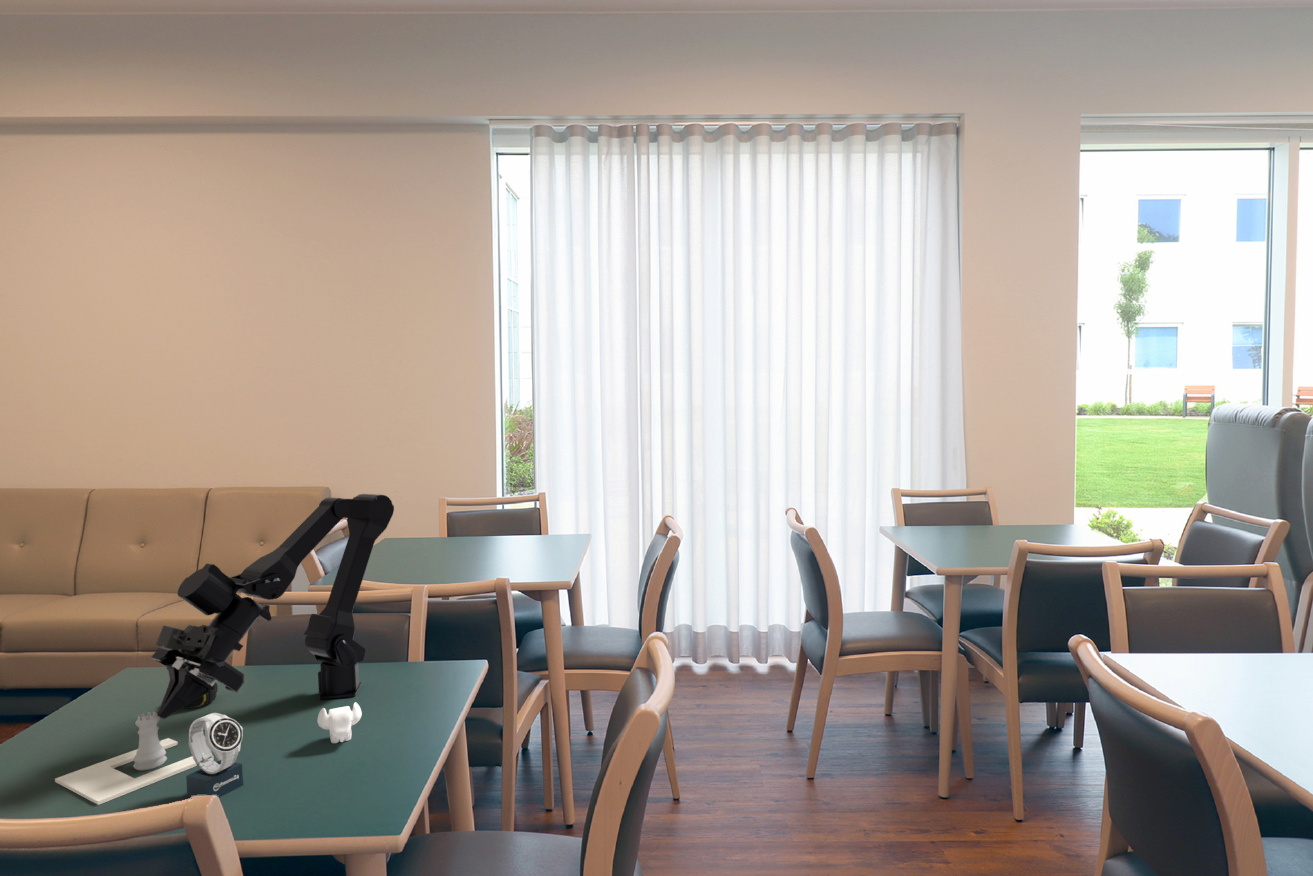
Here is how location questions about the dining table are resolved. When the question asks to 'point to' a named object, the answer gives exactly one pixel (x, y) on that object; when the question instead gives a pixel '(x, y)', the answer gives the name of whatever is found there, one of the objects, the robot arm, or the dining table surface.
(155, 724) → the rook chess piece
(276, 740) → the dining table surface
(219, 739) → the watch
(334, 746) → the dining table surface
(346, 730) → the elephant figurine
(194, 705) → the tape measure
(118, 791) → the cream u-shaped flat bracket
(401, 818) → the dining table surface
